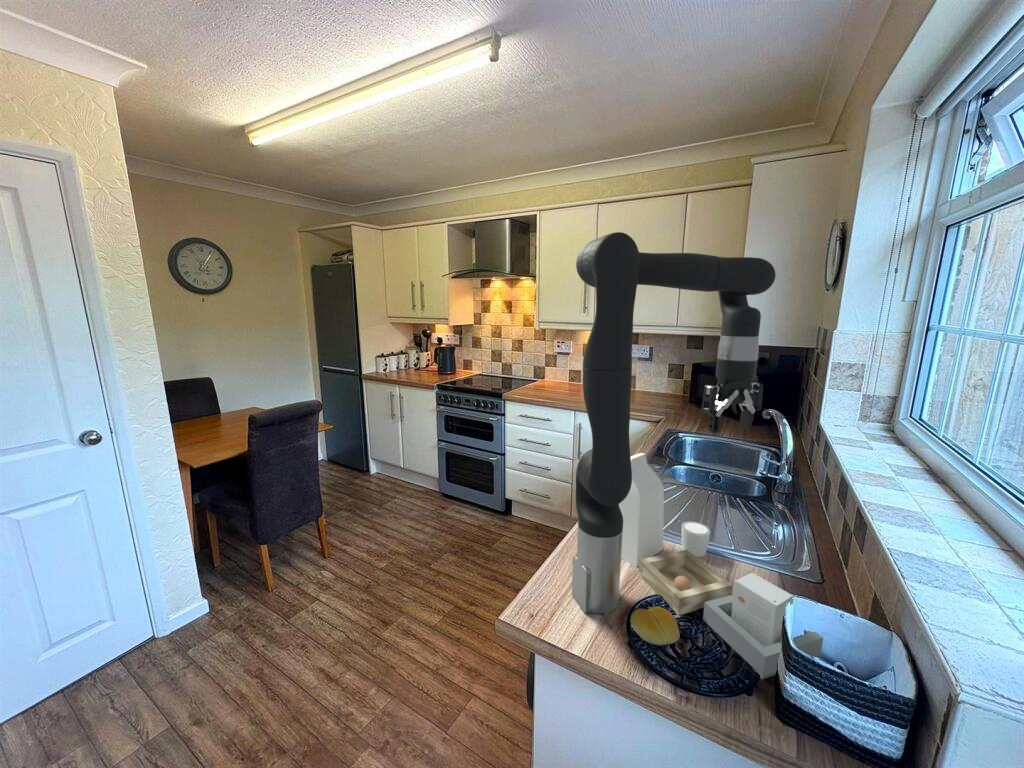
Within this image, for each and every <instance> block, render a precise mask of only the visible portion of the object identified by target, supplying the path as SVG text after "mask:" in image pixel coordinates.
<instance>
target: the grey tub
mask: <svg viewBox="0 0 1024 768" xmlns="http://www.w3.org/2000/svg"><path fill="white" fill-rule="evenodd" d="M732 605H733V594H731V595H730V596H726V597H722V598H719V599H715V600H711V601H707V602H705V603H704V609H703V613H702V614H703V615H702V621H704V622H705V623H706V624H707V625H708V626H709V627H710V628H711V629H712V631H714V632H715V633H716V634H717V635H719V637H720V638H721V639H722V640H724V641H725V642H726V643H727V644H728V645H729V646H730V647H731V648H732V649H733V650H734V651H735V652H736V653H737V654H738V655H739V656H740V657H741V658H742V659H743V660H745V661H746V663H747V664H749V666H750V667H752V668H751V670H752V671H753V670H754V671H755V672H757V673H758V674H759V675H760V677H759V678H760V679H761V680H766V679H769V678H771V677H774V676H776V671H777V663H778V658H779V655H780V651H781V642H779V643H775V644H772V645H769V646H766V647H764V646H762V645H761V644H760V643H759V642H758V641H757V640H756V639H754V638H753V637H752V636H751V635H750V634H749V633H748V632H746V631H745V630H744V629H743V628H742V627H741V626H740V625H738V624H737V623H736V622H735V621H734V620H733V619H732V618H731V615H732ZM823 641H824V637H823V636H822V635H820V634H819V633H818V632H816V631H815V632H811V631H806V630H804V635H800V636H797V637H794V638H793V642H794V644H795V645H796V647H797V648H798V649H799V650H801V651H803V652H804V653H806V654H808V655H810V656H814V657H817V658H820V659H821V656H822V655H821V654H822V648H823V643H824V642H823ZM754 671H753V672H754ZM755 672H754V673H755Z"/></svg>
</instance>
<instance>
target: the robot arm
mask: <svg viewBox="0 0 1024 768" xmlns="http://www.w3.org/2000/svg"><path fill="white" fill-rule="evenodd" d="M575 263H576V264H575V265H576V271H577V275H578V276H579V278H580V279H581V280H582V282H583V283H584V284H586V285H588V286H590V287H593V288H595V314H594V321H593V323H592V327H591V330H590V334H589V336H588V339H587V343H586V345H585V349H584V353H583V360H582V393H583V399H584V404H585V409H586V413H587V417H588V422H589V425H590V431H591V438H592V440H591V441H592V444H591V446H592V447H591V449H589V450H588V451H586V452H585V453H584V454H583V455H581V457H580V459H579V460H578V463H577V466H576V471H575V473H576V474H575V506H576V507H575V508H576V513H577V519H578V520H577V541H576V543H577V544H576V545H577V546H576V548H577V549H576V554H574V555H573V556H572V576H571V577H572V580H571V596H573V598H574V600H575V602H577V604H578V606H579V608H580V609H581V610H582V612H584V613H585V614H586V613H591V614H592V613H593V614H598V615H605V613H609V612H611V611H614V609H616V608H617V607H618V605H619V601H620V599H619V598H620V583H621V582H620V581H621V569H622V568H621V564H622V559H621V551H622V535H623V515H622V513H621V510H620V507H619V503H621V502H622V501H623V500H624V499H625V498H626V497H627V495H628V493H629V491H630V488H631V484H632V469H631V458H630V456H631V447H630V444H631V443H630V423H631V422H630V421H631V394H632V381H633V380H632V379H633V377H632V374H633V354H632V353H633V339H634V338H633V335H634V311H635V304H636V303H635V302H636V295H637V288H638V286H651V287H652V286H653V287H663V288H670V289H679V290H686V291H694V292H695V291H696V292H697V291H698V292H707V293H708V292H717V293H718V294H717V295H718V299H719V304H720V305H719V306H720V310H721V313H722V320H721V329H720V339H719V343H718V346H717V347H718V349H717V356H716V357H717V358H716V368H715V377H716V379H717V383H716V385H710V384H705V385H704V387H703V395H702V402H701V409H700V411H701V412H702V413H705V414H708V424H707V428H708V431H709V432H711V433H714V434H719V433H720V431H721V430H720V428H721V421H722V419H721V415H722V413H723V412H724V411H725V410H727V409H728V408H729V407H730V406H734V405H739V407H740V410H741V412H740V416H739V417H740V418H739V419H740V420H739V425H738V426H739V428H740V429H741V430H745V431H750V430H751V427H752V423H753V415H754V414H755V412H757V411H761V410H762V408H763V395H764V394H763V393H764V384H763V383H759V382H754V381H755V380H756V379H757V378H756V377H757V369H758V368H757V367H758V358H759V351H760V350H759V349H760V348H759V347H760V346H759V345H760V344H759V339H760V338H759V337H760V328H761V320H762V319H761V318H762V314H761V310H759V309H758V308H756V307H752V306H750V304H749V301H748V296H754V295H759V294H762V293H764V292H766V291H768V290H769V289H770V288H771V287H772V286H773V284H774V283H775V280H776V274H777V273H776V270H775V267H774V266H773V264H772V263H771V262H770V261H768V260H767V259H764V258H760V257H748V256H746V257H743V256H740V257H738V256H735V257H732V256H731V257H724V256H717V255H711V254H704V253H695V252H662V253H661V252H656V253H655V252H642V251H641V252H640V251H639V248H638V245H637V244H636V241H635V240H634V239H633V238H632V237H631V236H630V235H629V234H627V233H624V232H622V231H621V232H620V231H619V232H617V231H616V232H611V233H608V234H606V235H603V236H601V237H598V238H596V239H593V240H591V241H590V242H588V243H587V244H585V245H584V247H582V248H581V249H580V251H579V252H578V255H577V257H576V262H575Z"/></svg>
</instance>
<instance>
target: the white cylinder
mask: <svg viewBox="0 0 1024 768" xmlns="http://www.w3.org/2000/svg"><path fill="white" fill-rule="evenodd" d="M680 529H681V551H683V550H688V551H689V552H691V553H692V554H693V555H694V556H696V557H697V558H702V557H704V556H706V553H707V549H708V546H709V545H708V544H709V539H710V535H711V530H710V527H708V526H707V525H705V524H703V523H700V522H697V521H685V522H683V523H682V524H681V528H680Z"/></svg>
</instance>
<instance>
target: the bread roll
mask: <svg viewBox="0 0 1024 768" xmlns="http://www.w3.org/2000/svg"><path fill="white" fill-rule="evenodd" d="M629 618H630V619H629V620H630V622H631V625H630V628H631V627H632V628H633V630H634V631H635V632H636V633H637V634H638V635H639V636H640V637H641V638H642V640H643V641H644V640H645V641H644V642H646V641H647V642H646V643H649V642H650V644H652V645H656V646H666V645H671V644H674V643H676V642H678V640H680V637H681V636H680V629H679V624H678V621H677V619H676V618H675V617H674V616H673V614H672V613H671V612H670V611H669V610H667V609H665V608H664V607H662V606H661V607H660V606H652V607H650V608H649V609H645V608H636V609H635V610H634V611H633V612H632V613H631V615H630V617H629ZM630 622H629V623H630ZM632 628H631V629H632ZM633 630H632V631H633ZM640 637H639V638H640ZM641 638H640V639H641Z"/></svg>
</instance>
